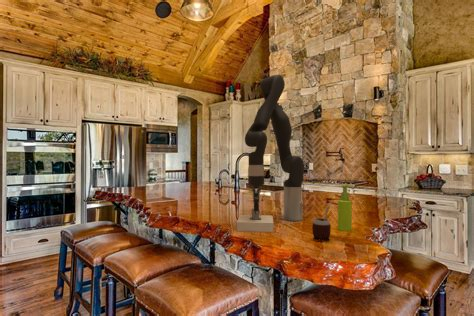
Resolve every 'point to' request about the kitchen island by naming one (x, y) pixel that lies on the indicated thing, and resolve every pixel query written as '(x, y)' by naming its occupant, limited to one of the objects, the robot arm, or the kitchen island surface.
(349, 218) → the soap dispenser
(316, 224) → the mate gourd
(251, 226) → the socket block
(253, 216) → the peg
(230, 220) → the kitchen island surface
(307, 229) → the kitchen island surface
